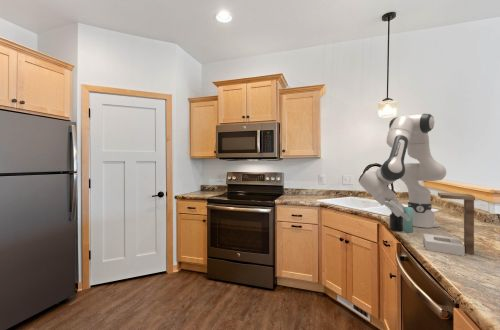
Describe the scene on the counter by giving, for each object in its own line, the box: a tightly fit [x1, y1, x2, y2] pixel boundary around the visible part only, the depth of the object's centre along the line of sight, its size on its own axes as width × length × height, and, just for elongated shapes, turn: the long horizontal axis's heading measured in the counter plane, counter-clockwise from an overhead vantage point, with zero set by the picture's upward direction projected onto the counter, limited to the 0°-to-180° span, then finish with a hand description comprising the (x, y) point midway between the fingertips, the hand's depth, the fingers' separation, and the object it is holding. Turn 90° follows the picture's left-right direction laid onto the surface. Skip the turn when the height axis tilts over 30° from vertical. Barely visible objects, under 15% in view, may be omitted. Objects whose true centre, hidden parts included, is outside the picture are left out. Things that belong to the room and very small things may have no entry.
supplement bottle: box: [389, 210, 403, 233], centre depth 135 cm, size 7×7×12 cm
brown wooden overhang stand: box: [437, 192, 476, 255], centre depth 103 cm, size 10×11×25 cm
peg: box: [402, 206, 414, 234], centre depth 113 cm, size 4×4×12 cm
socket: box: [422, 233, 466, 257], centre depth 106 cm, size 13×13×4 cm
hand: (409, 219), depth 112 cm, fingers closed on peg, 4 cm apart
